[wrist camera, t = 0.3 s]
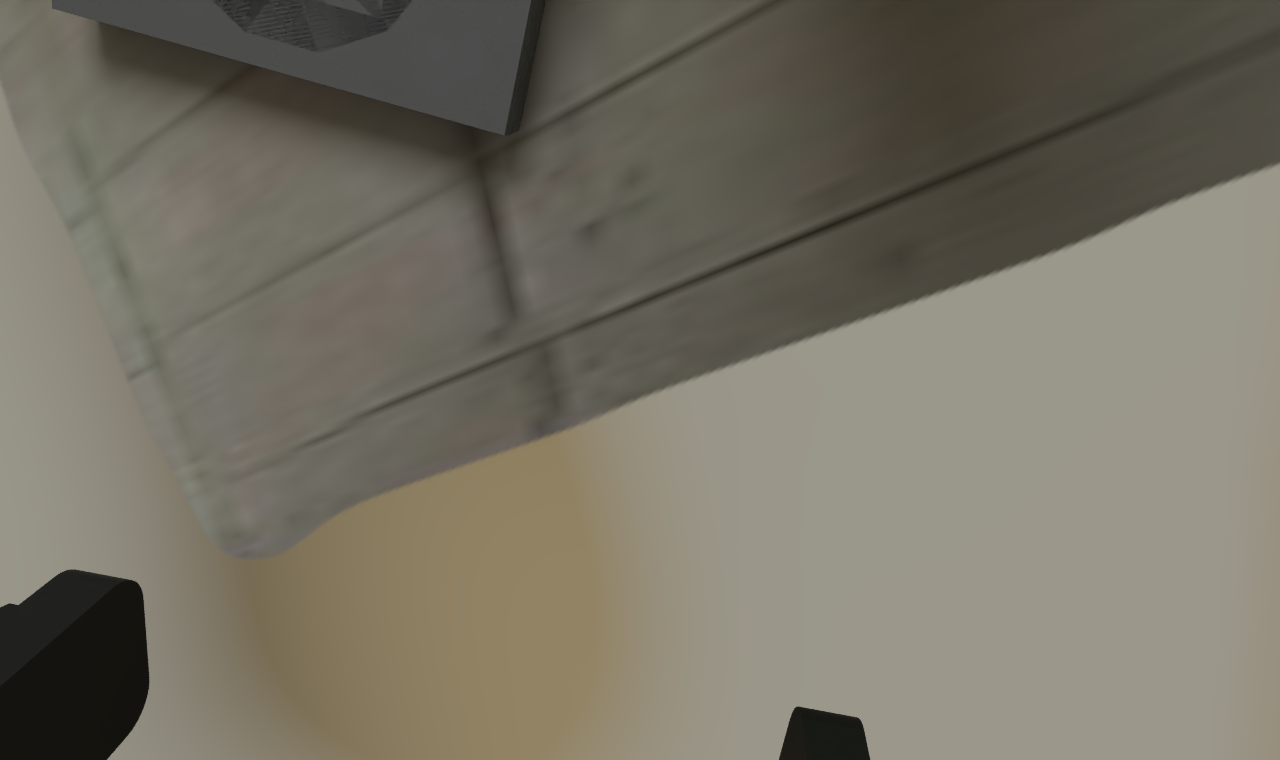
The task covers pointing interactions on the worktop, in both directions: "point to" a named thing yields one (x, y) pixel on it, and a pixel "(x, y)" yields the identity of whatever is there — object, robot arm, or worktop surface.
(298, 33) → the plate
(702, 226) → the worktop surface
